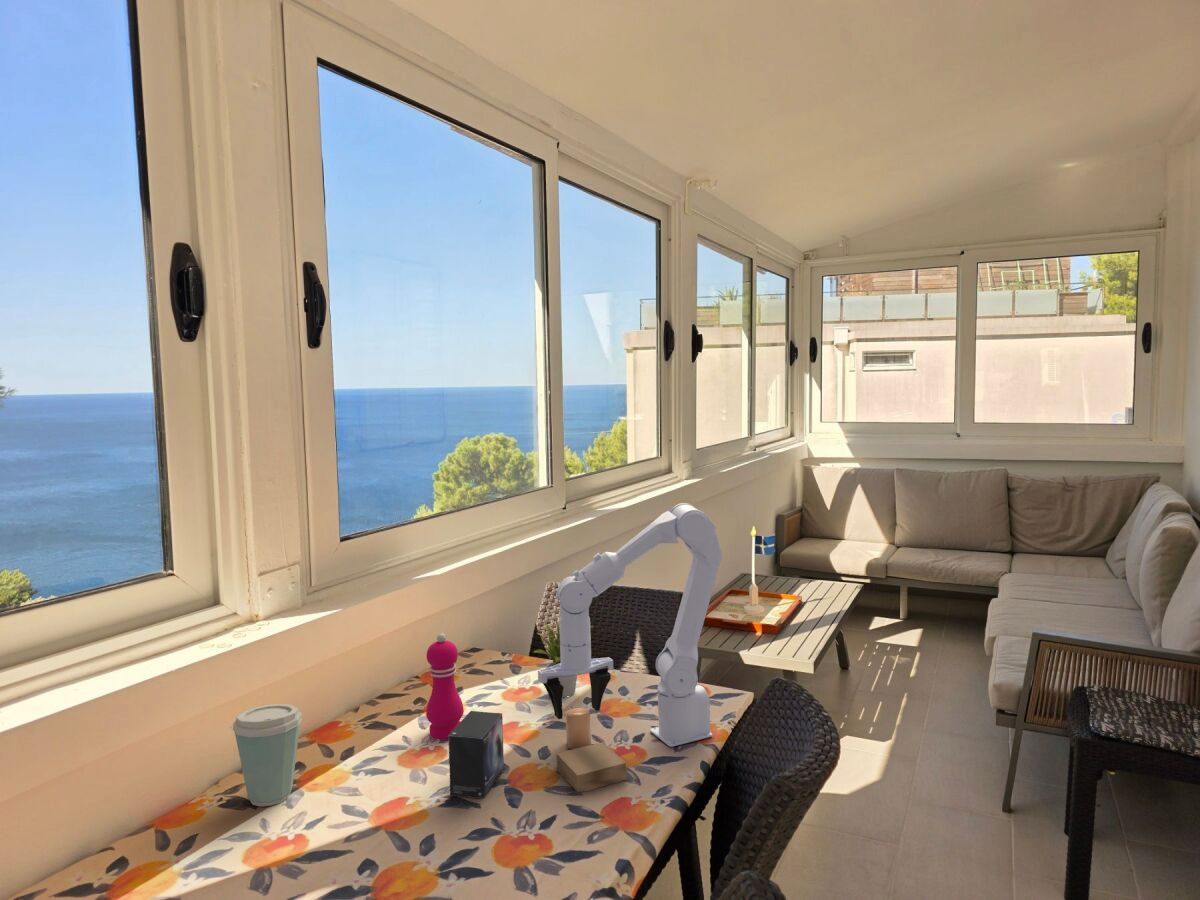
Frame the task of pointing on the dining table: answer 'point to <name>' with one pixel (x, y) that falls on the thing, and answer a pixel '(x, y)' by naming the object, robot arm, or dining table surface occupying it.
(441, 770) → the dining table surface
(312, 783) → the dining table surface
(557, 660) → the house plant
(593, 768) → the tan square base block
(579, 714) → the peach domed cylinder
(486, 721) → the small box
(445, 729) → the pepper mill
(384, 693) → the dining table surface
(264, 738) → the disposable coffee cup
